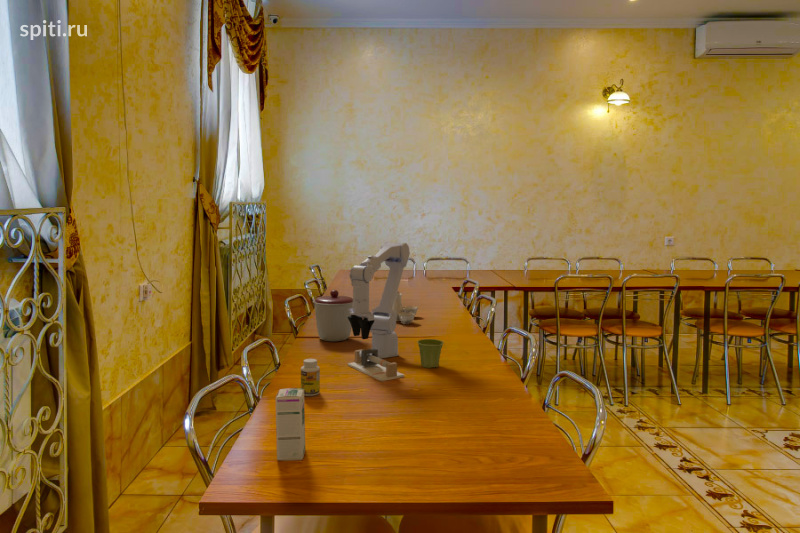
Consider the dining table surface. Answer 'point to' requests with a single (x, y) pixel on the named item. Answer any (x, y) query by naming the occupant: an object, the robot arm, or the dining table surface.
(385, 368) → the pipe rig
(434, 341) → the plant pot
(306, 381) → the supplement bottle
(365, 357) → the grey square collar
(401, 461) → the dining table surface
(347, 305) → the canister
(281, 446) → the syrup box
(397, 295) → the chinaware
